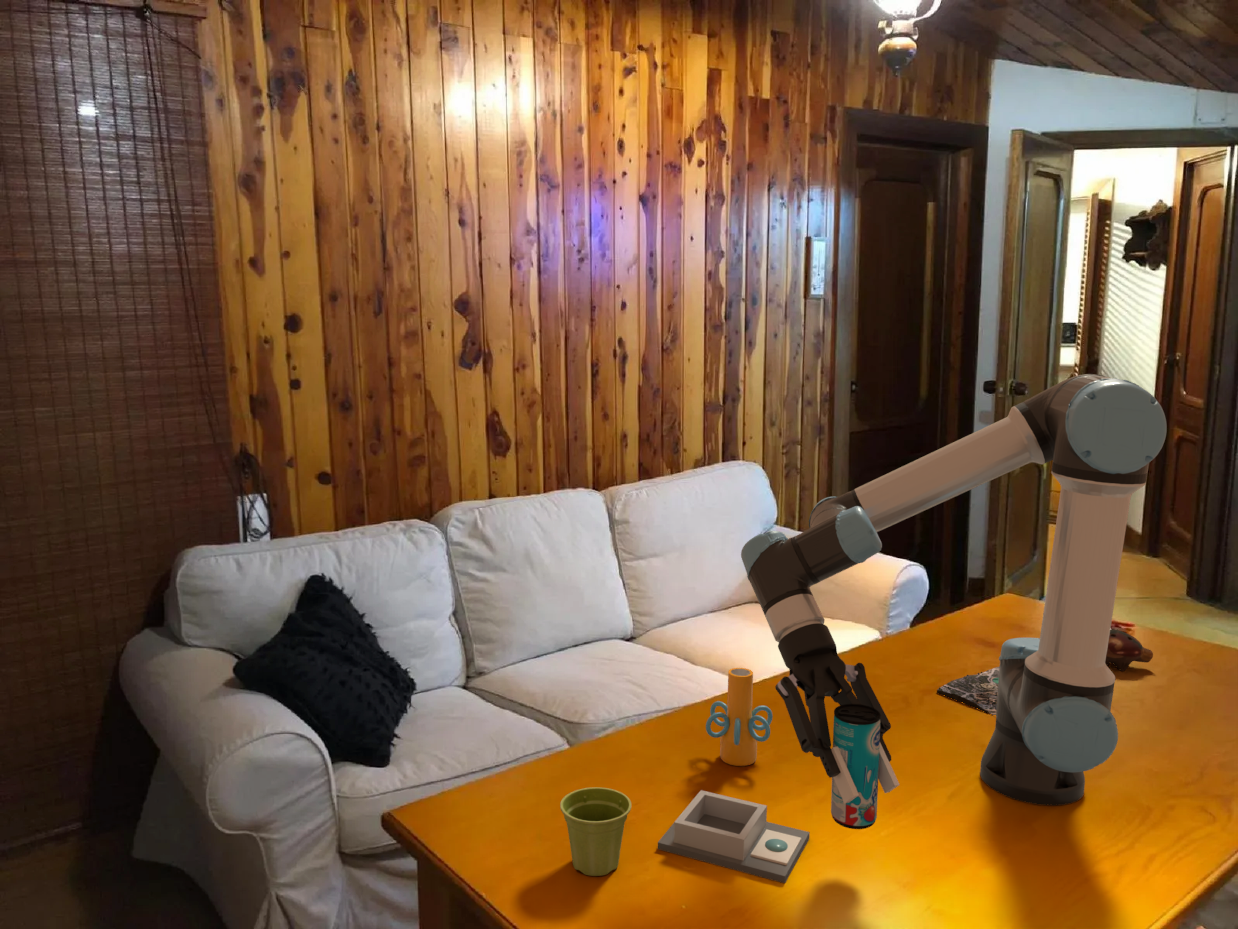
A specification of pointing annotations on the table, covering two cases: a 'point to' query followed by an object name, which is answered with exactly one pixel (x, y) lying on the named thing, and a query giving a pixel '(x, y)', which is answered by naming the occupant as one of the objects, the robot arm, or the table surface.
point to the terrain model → (975, 690)
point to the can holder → (735, 837)
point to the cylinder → (739, 720)
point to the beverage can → (857, 763)
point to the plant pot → (595, 828)
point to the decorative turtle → (1125, 650)
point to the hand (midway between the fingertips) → (872, 793)
